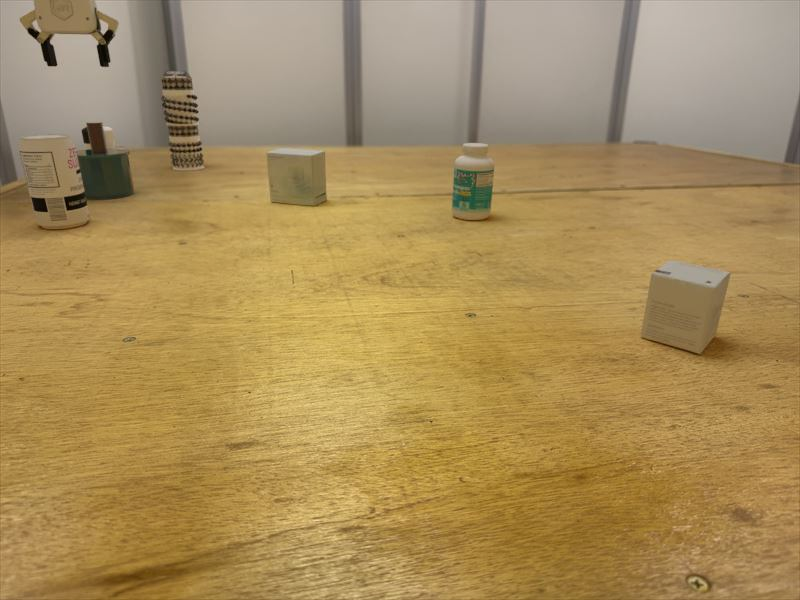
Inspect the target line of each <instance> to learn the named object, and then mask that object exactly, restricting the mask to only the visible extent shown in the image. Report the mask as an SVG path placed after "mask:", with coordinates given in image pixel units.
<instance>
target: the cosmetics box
mask: <svg viewBox="0 0 800 600" xmlns="http://www.w3.org/2000/svg"><path fill="white" fill-rule="evenodd" d="M265 153H266V161H267V162H266V163H267V175H268V187H269V198H270V199H269V200H270V202H271V203H277V204H278V203H279V204H288V205H298V206H309V207H315V206H318V205H320V204H322V203H325V202H326V201H327V200H328V196H327V195H328V193H327V173H326V172H327V171H326V150H320V149H319V150H317V149H304V148H302V149H301V148H289V147H279V148H276V149H273V150H270V151H266V152H265Z"/></svg>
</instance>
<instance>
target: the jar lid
mask: <svg viewBox="0 0 800 600" xmlns="http://www.w3.org/2000/svg"><path fill="white" fill-rule="evenodd" d="M103 124H104V123H103V122H102V121H87V122H86V123H85V125H86V127H87V130H88V135H89V140H90V145H91V149H88V150H86V149H81V150H76V153H77V158H81V159H98V158H113V157H121V156H126V155H128V156H129V155H130V154H131V152H130V150H129V149H126V148H123V149H113V148H108V149H107V145H106V140H105V134H104V129H103V126H104V125H103Z"/></svg>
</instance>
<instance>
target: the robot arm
mask: <svg viewBox="0 0 800 600" xmlns="http://www.w3.org/2000/svg"><path fill="white" fill-rule="evenodd" d="M33 5H34V9H33V10H31V11H29V12H28V13H26V14H25V15H23V16H21V17H20V18H19V22H20V23H21V25H22V26H23V28H24V29H25V30H26V31H27V34H28V35H30V36H31V37H32V38H33V39H34V40H36V42H37V43H38V44H39V45H40V49H41V53H42V57H43V61H44V62H45V63H46V66H47V67H58V61H57V56H56V51H55V47H54V45H53V44H52V43H51V41H52V40H53V38H54V36H55V35H56V34H57V35H91V36H92V38H93V39H94V40H96V41H97V44H96V50H97V55H98V56H97V57H98V61H99V66H100V67H101V68H109V67H110V64H109V63H111V55H110V49H109V45H110V42H112V40H113V39H114V38H115V36H116V32H117V30H118V28H119V24H120V23H119V21H118V20H117V19H116V18H113V17H111V16H110V15H108V14H106V13H103V12H102V11H100V10H98V7H97V3H96V0H33ZM35 21H36V23H37V26H38V28H39V30H40V31H39V30H38V29H36V27H35V26H34V25H33V24H34V22H35ZM101 21H103V22H105V23H106V24H107V25H108V26H107V30H106V31H105V32H104V33H102V25H101Z"/></svg>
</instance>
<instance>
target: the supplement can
mask: <svg viewBox="0 0 800 600" xmlns="http://www.w3.org/2000/svg"><path fill="white" fill-rule="evenodd" d="M17 150H18V153H19V157H20V161H21V165H22V170H23V173H24V177H25V182H26V185H27V190H28V195H29V198H30V202H31V206H32V211H33V214H34V218H35V223H36V225H38V226H39V227H40V226H41V228H43V229H46V230H63V229H64V230H66V229H71V228H77V227H81V226H83V225H86V224H87V223H88V220H89V219H90V218H91V216H90V211H89V206H88V202H87V201H88V200H87V199H86V196H85V191H84V187H83V182H82V177H81V172H80V167H79V163H78V158H77V153H76V151H77V149H76V145H75V143H74V142H73V141H72V138H70V136H69V135H68V134H66V133H65V134H62V133H44V134H43V133H42V134H28V135H27V134H26V135H21V136H19V142H18V145H17Z"/></svg>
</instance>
